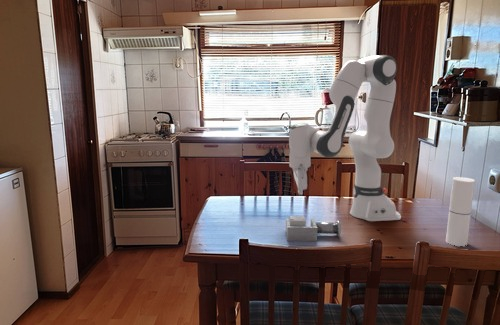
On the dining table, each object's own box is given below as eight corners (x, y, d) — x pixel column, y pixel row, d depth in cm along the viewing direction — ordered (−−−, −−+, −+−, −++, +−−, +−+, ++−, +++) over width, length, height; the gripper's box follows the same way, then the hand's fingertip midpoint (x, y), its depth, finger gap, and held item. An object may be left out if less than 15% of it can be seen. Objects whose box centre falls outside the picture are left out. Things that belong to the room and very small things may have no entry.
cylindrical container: (447, 244, 138) (454, 180, 133) (444, 237, 145) (451, 176, 140) (468, 247, 136) (476, 182, 131) (465, 240, 142) (472, 178, 137)
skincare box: (303, 232, 150) (304, 215, 149) (305, 238, 144) (306, 220, 143) (288, 232, 150) (289, 215, 149) (290, 238, 144) (290, 220, 143)
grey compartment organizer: (336, 231, 151) (337, 216, 150) (341, 241, 141) (342, 225, 140) (285, 230, 152) (285, 216, 150) (287, 240, 142) (287, 225, 140)
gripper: (310, 167, 143) (311, 201, 146) (304, 157, 163) (305, 187, 166) (294, 168, 144) (295, 201, 146) (290, 157, 164) (291, 187, 166)
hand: (300, 193), depth 156 cm, fingers closed
